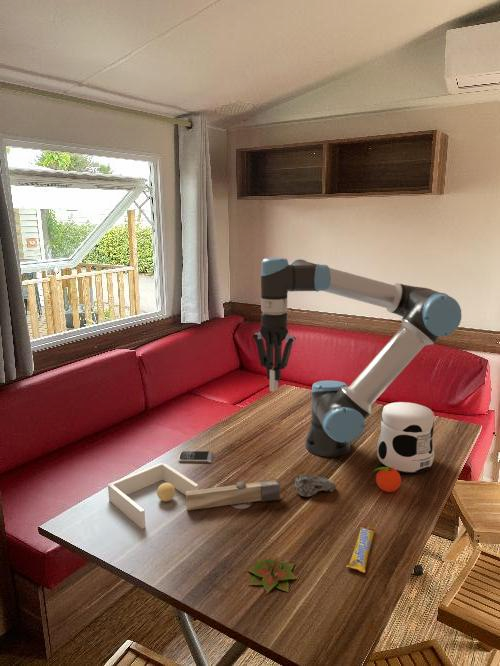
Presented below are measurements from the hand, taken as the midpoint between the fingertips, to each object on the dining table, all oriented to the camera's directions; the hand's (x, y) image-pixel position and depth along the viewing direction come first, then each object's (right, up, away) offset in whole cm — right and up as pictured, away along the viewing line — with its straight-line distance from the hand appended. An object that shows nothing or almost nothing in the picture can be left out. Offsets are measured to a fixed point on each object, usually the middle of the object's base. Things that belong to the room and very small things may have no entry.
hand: (273, 389), depth 146 cm
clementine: (+32, -28, -5) cm, 43 cm away
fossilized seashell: (+11, -29, -5) cm, 31 cm away
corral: (-34, -30, -10) cm, 46 cm away
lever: (-12, -30, -12) cm, 34 cm away
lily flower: (-2, -37, -38) cm, 53 cm away
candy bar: (+19, -35, -30) cm, 50 cm away
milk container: (+42, -25, +9) cm, 50 cm away
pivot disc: (-9, -30, -11) cm, 33 cm away
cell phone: (-25, -25, +14) cm, 38 cm away
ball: (-29, -30, -10) cm, 43 cm away
